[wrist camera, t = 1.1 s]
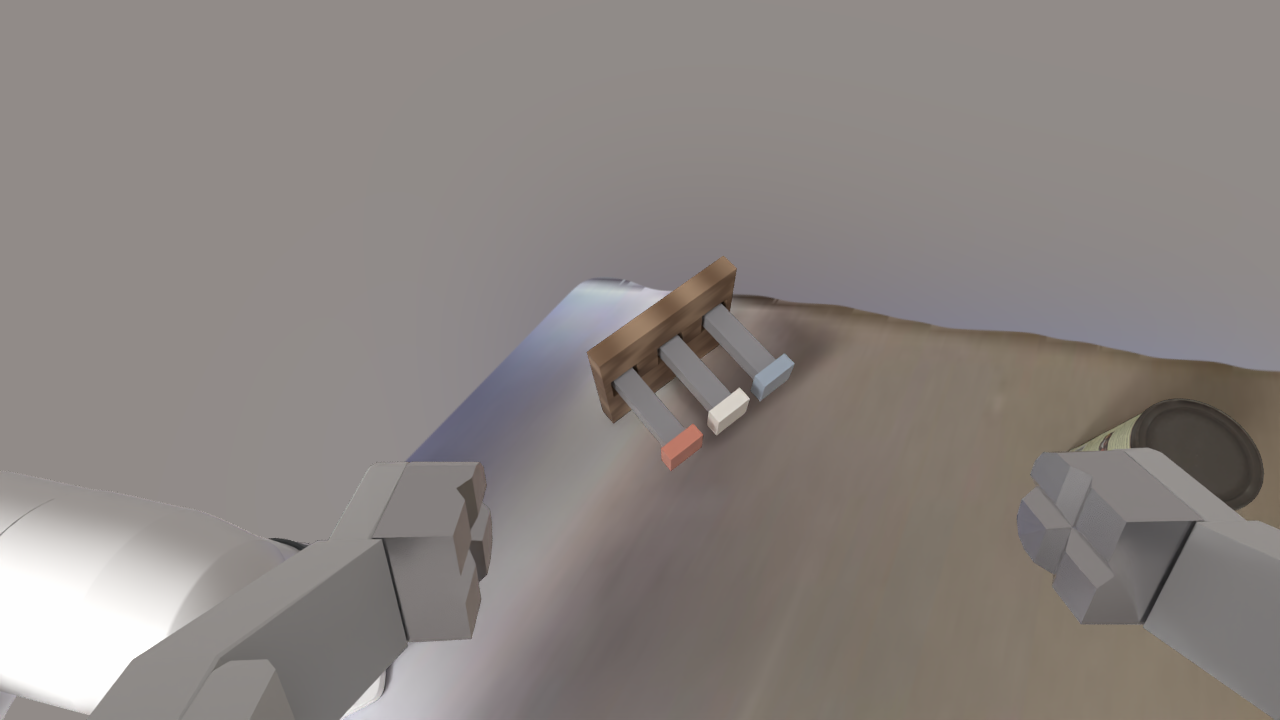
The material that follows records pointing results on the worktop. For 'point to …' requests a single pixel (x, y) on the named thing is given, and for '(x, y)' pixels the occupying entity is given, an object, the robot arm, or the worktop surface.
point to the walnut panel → (661, 335)
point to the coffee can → (1194, 446)
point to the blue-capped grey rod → (747, 352)
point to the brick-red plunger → (658, 419)
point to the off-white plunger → (704, 385)
